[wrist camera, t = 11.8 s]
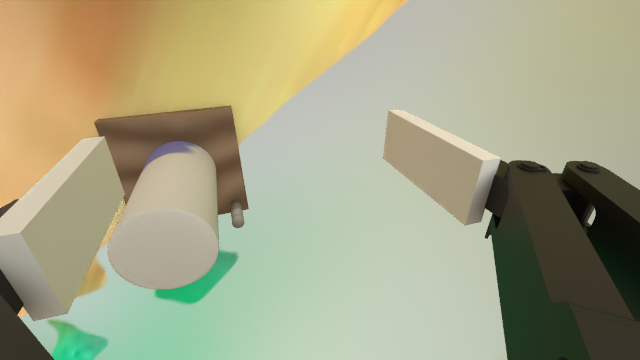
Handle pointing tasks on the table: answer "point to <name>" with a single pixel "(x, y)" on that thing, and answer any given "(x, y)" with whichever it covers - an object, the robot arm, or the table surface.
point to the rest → (189, 126)
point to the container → (169, 220)
